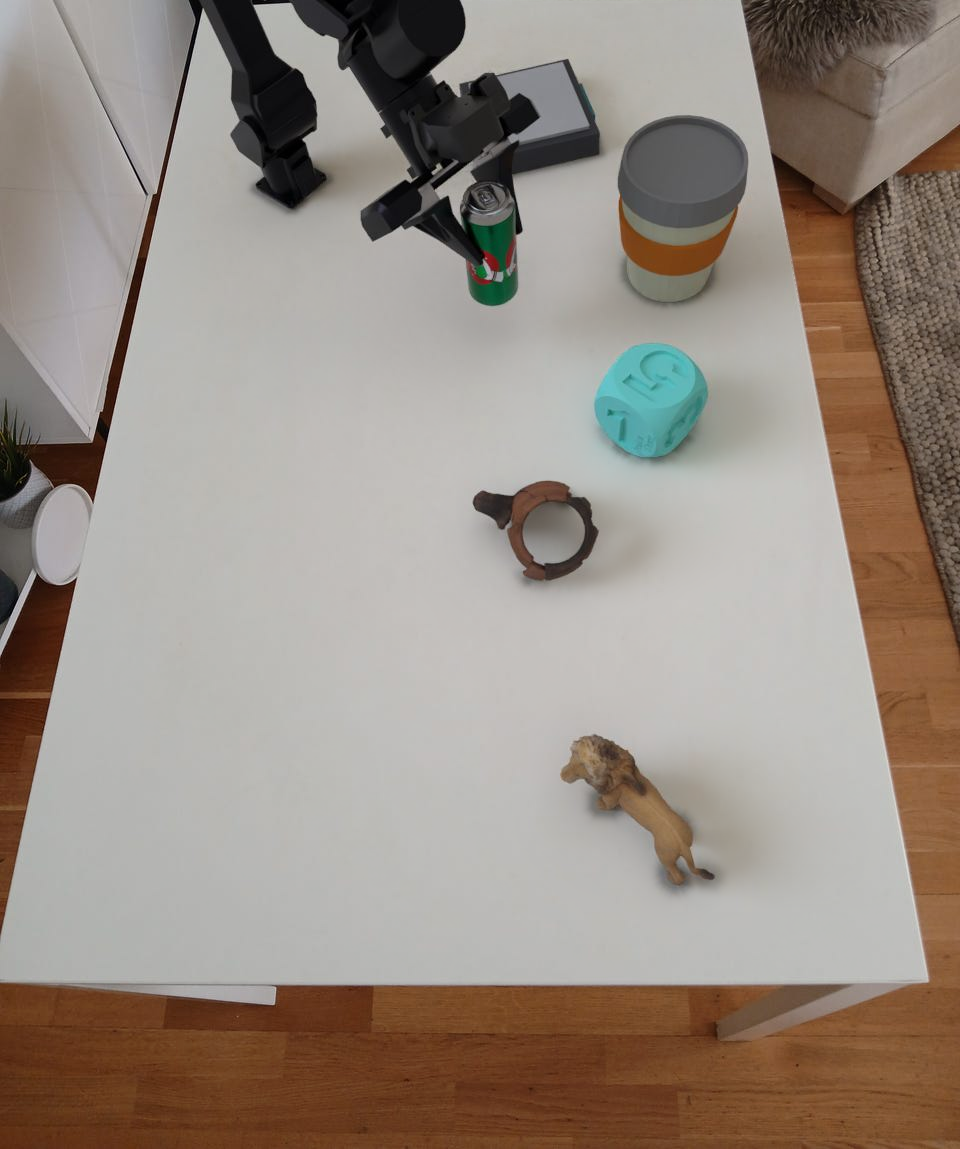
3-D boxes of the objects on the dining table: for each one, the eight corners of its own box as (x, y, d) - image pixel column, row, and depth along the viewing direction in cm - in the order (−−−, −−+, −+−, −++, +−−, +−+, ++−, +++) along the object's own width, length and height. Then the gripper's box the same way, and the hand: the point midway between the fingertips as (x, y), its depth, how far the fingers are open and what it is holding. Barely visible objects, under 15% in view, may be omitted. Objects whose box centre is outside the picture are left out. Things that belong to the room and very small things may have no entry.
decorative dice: (591, 428, 93) (594, 380, 86) (640, 379, 95) (647, 328, 88) (653, 471, 90) (661, 425, 83) (703, 419, 92) (715, 370, 85)
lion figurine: (551, 788, 78) (550, 763, 70) (589, 740, 79) (592, 711, 71) (695, 904, 73) (712, 892, 65) (732, 851, 74) (753, 833, 66)
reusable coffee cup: (748, 264, 101) (778, 149, 87) (678, 334, 97) (697, 226, 84) (658, 212, 105) (673, 95, 91) (588, 277, 102) (592, 166, 88)
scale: (486, 180, 109) (484, 156, 106) (461, 104, 115) (458, 79, 112) (604, 153, 110) (605, 128, 107) (572, 79, 116) (573, 53, 113)
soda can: (504, 264, 94) (498, 169, 83) (527, 297, 92) (524, 204, 81) (460, 283, 93) (449, 189, 83) (482, 317, 91) (474, 225, 81)
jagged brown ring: (597, 495, 90) (615, 494, 82) (572, 587, 91) (587, 595, 83) (480, 463, 89) (486, 459, 81) (455, 556, 90) (459, 562, 82)
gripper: (356, 124, 71) (467, 296, 77) (523, 3, 75) (614, 174, 82) (315, 160, 80) (416, 310, 87) (464, 51, 85) (550, 201, 91)
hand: (499, 249), depth 86 cm, fingers closed on soda can, 5 cm apart
